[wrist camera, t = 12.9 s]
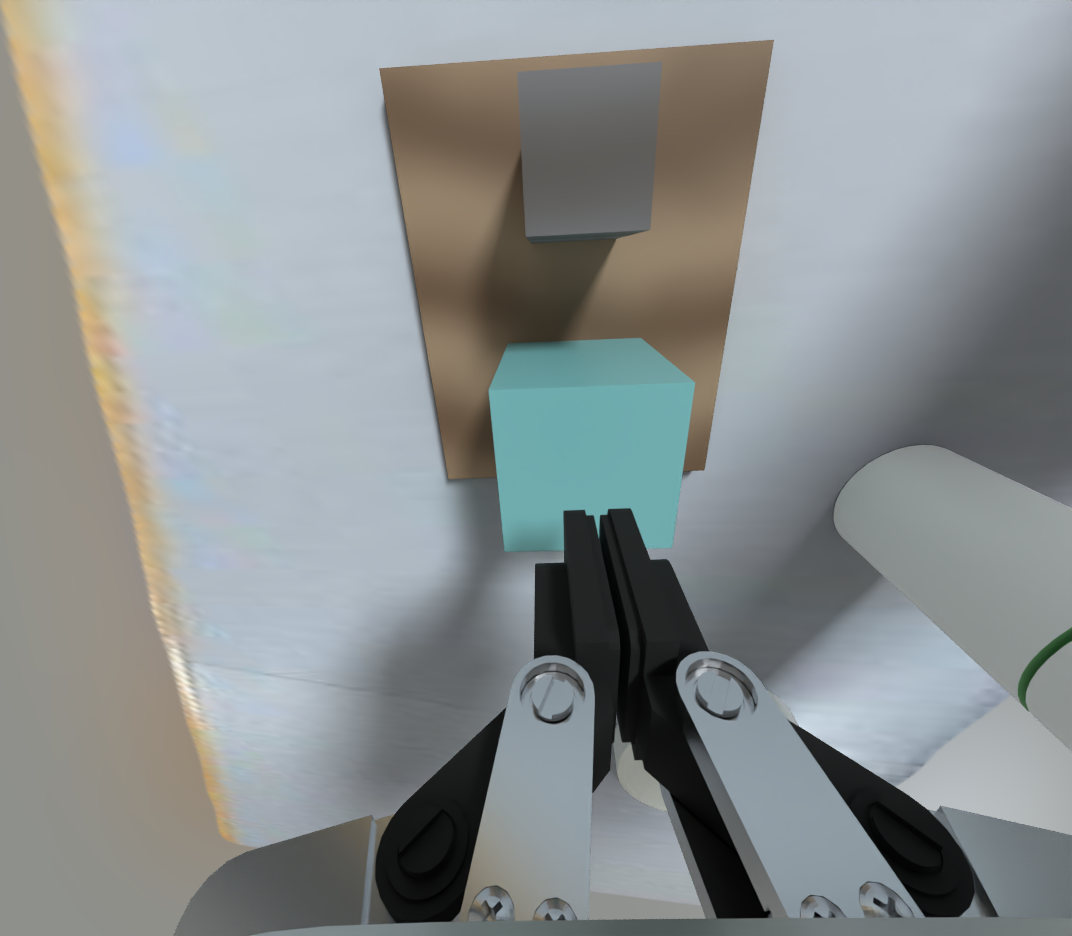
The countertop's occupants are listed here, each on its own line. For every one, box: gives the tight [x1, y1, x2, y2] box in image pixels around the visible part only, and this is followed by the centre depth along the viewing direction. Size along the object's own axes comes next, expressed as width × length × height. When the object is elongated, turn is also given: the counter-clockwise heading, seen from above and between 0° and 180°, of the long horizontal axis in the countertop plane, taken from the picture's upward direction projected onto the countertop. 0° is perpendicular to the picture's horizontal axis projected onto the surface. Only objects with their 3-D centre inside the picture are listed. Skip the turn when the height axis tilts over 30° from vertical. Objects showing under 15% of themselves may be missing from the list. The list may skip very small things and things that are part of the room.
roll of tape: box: [613, 691, 799, 812], centre depth 34 cm, size 16×15×3 cm
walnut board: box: [379, 40, 774, 479], centre depth 16 cm, size 17×14×7 cm
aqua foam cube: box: [489, 338, 695, 552], centre depth 17 cm, size 6×6×8 cm
